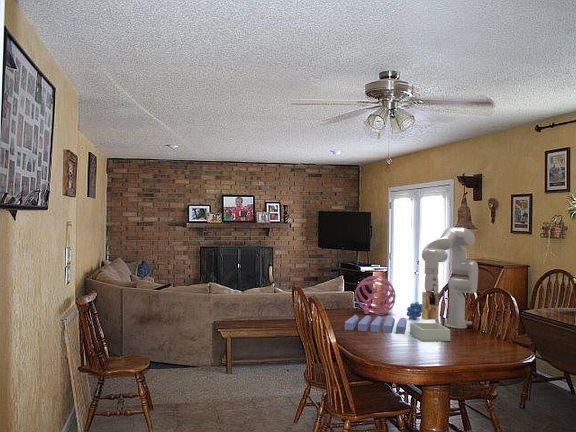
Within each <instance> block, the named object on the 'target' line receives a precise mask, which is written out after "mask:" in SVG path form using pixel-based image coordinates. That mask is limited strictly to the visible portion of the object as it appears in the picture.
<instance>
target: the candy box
mask: <svg viewBox="0 0 576 432" xmlns="http://www.w3.org/2000/svg"><path fill="white" fill-rule="evenodd" d="M429 301H430V292H426V291H422V293H421V304H422V313H421V320H424V321H429V320H430V321H431V320H437V321H438V320H439V314H440V311H439V310H440V292H439V291H438V292H437V293H436V298H435V305H430V304H429Z"/></svg>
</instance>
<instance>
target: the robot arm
mask: <svg viewBox="0 0 576 432" xmlns="http://www.w3.org/2000/svg"><path fill="white" fill-rule="evenodd" d="M475 243H476V237H475V233H474V232H472V231H471V230H469V229H468V228H466V227H459V226H458V227H456V226H454V227H453V226H449V227H447V228H445V230H444V231H443V233H442V234H441V236H440V237H439V238H437V239H434V240H432V241H430V242H427V244H426V245H425V246H424V248H423V250H422V252H421V258H422V260H423V261H424V275H425V276H424V290H425V292H430V301H429V304H430V305H435V298H436V293H437V292H439V267H440V266H439V263H445V262H446V261H447V260H448V257H449V256H448V255H449V254H448V252H447V250H451V272H452V273H453V274H455V275H461V276H452V277H450V278H449V279H448V283H447V284H448V290H449V297H448V299H449V302H448V304H449V307H448V323H446V324H445V327H446V328H450V327H451V329H467V328H468V325H473V321H469V320H467V319H465V317H466V298H465V296H464V293H465V294H466V293H467V294H475V293H476V292H477V290H478V281H479V266H478V262H477V261H475V260H472V259H467V250H466V249H465V247H472V246H474V244H475ZM466 276H468V277H466Z"/></svg>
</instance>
